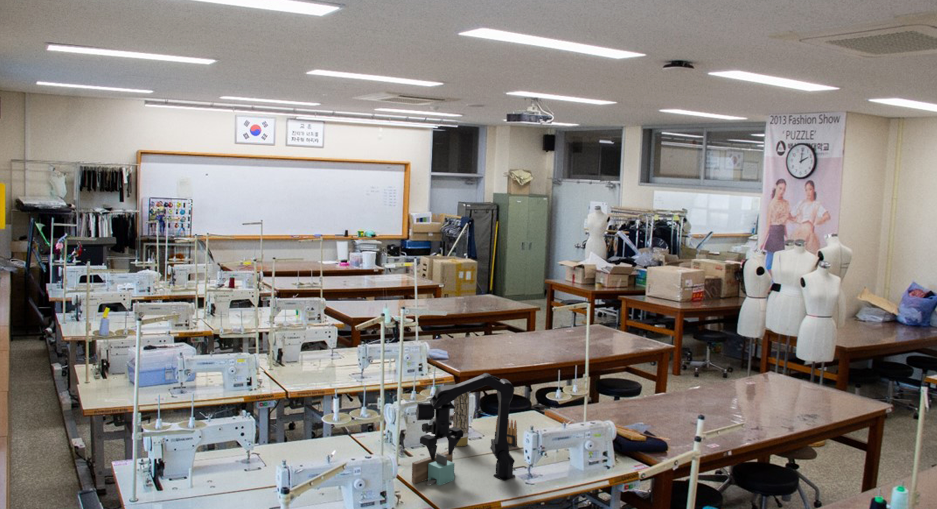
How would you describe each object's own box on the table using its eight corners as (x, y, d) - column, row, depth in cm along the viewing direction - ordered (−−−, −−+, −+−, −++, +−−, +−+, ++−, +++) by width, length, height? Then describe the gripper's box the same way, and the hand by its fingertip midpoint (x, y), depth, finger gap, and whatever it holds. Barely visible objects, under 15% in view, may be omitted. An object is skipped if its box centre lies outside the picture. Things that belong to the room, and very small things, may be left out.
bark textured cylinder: (466, 447, 352) (467, 392, 349) (451, 446, 353) (452, 391, 350) (469, 442, 358) (470, 388, 355) (454, 440, 360) (456, 387, 357)
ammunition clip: (494, 442, 360) (495, 416, 358) (496, 441, 361) (496, 415, 360) (515, 447, 354) (516, 421, 353) (517, 445, 356) (518, 420, 355)
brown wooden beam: (459, 474, 322) (460, 455, 321) (422, 487, 308) (423, 467, 307) (448, 469, 326) (449, 450, 325) (411, 482, 312) (412, 462, 311)
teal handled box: (454, 480, 316) (454, 454, 314) (439, 485, 310) (440, 459, 309) (442, 475, 320) (443, 450, 319) (427, 480, 315) (428, 454, 313)
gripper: (445, 409, 324) (444, 446, 326) (411, 418, 311) (410, 457, 313) (464, 416, 316) (463, 454, 318) (430, 426, 303) (428, 465, 305)
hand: (441, 457), depth 314 cm, fingers open, 9 cm apart
